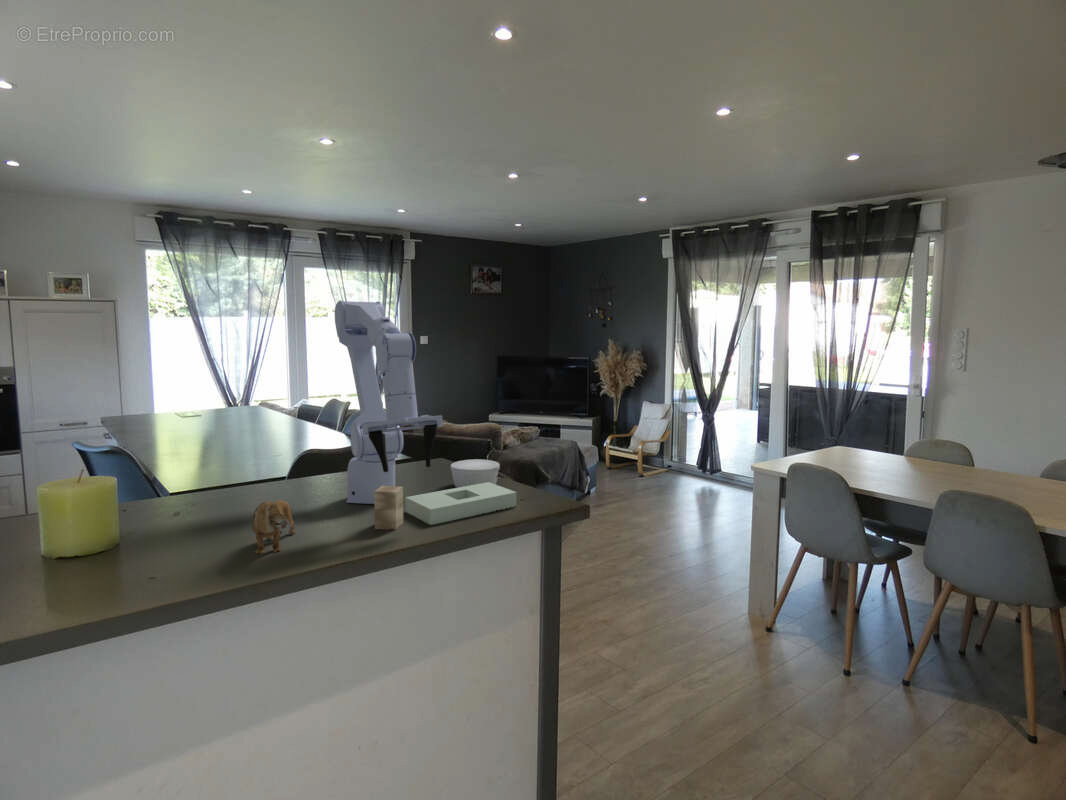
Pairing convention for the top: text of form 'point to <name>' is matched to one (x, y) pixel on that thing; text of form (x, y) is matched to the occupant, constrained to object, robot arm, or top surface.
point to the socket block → (460, 502)
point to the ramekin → (474, 472)
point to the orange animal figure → (271, 523)
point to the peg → (388, 507)
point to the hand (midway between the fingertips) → (407, 469)
